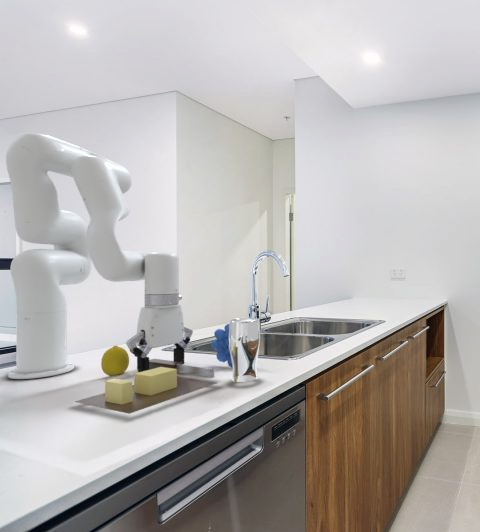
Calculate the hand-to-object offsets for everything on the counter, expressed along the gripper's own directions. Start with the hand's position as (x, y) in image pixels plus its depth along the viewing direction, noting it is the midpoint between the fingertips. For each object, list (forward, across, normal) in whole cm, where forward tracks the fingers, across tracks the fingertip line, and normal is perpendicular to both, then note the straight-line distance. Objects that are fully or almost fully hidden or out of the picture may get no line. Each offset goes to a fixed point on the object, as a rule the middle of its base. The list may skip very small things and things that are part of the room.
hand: (161, 368), depth 101 cm
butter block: (0, +12, +14) cm, 19 cm away
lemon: (+2, +7, -7) cm, 10 cm away
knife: (+1, 0, +6) cm, 7 cm away
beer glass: (+2, -2, +25) cm, 25 cm away
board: (+1, +13, +14) cm, 19 cm away
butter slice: (0, +20, +14) cm, 24 cm away
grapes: (+2, -11, +13) cm, 17 cm away
